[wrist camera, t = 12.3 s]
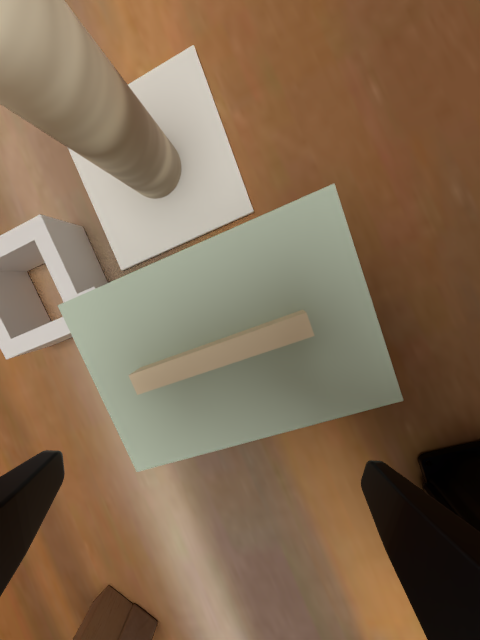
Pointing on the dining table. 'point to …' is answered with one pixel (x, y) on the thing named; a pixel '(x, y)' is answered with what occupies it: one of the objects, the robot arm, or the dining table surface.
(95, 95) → the beige cylinder
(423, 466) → the robot arm
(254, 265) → the pale green box
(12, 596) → the dining table surface
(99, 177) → the mat
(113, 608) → the wooden toy
